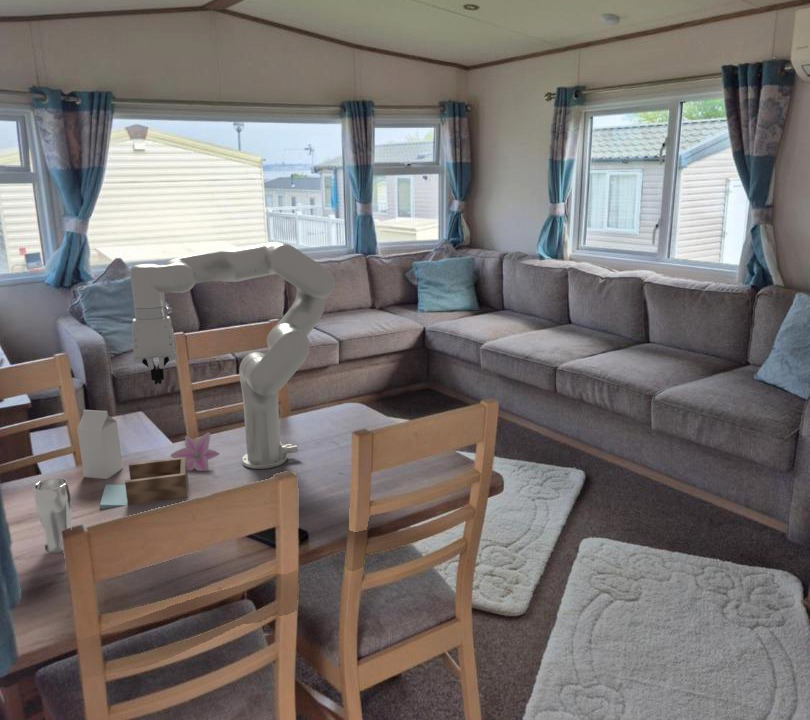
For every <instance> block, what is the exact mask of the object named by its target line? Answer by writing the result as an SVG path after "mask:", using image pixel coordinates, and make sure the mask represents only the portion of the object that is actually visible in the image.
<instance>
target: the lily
mask: <svg viewBox="0 0 810 720" xmlns="http://www.w3.org/2000/svg"><path fill="white" fill-rule="evenodd" d="M184 439H185V440H184V441H185V447H184V448H183V447H182V448H181V449H178V450H176V451H174V452H172V453H171V454H170V457H171V459H172V458H180V457H186V466H187V471H189V470H190V471H193V470H194V469H195V470H197V471H201V472H203V471H209V460H211V459H214V458H216V457H218V456H219V455H220V452H218V451H216V450H213V449H210V448H209V447H210V441H211V432H206V433H205V434H203V435H202V436H200V437H199V438H198V439H197V440H194V439H193V438H191V437H190V436H188V435H186V436H185V437H184Z"/></svg>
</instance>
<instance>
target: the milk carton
mask: <svg viewBox="0 0 810 720" xmlns="http://www.w3.org/2000/svg"><path fill="white" fill-rule="evenodd" d="M82 412H83V414H82V417H81V419H80V421H79V422H78V426H77V427H76V430H77V431H76V432H77V437H78V443H79V444H78V445H79V451H80V457H81V465H82V472H83V477H84V478H91V479H103V480H107V479H110V478H111V477H112V476H114V475H116V474H117V473H118V472H120V471H121V470H123V468H124V467H123V460H122V452H121V445H120V444H121V443H120V437H119V436H120V435H119V427H118V421H117V420H116V419H114V418H113V417H112V416H110V415H109V414H108V411H107V410H91V409H83V411H82Z"/></svg>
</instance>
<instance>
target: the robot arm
mask: <svg viewBox="0 0 810 720" xmlns="http://www.w3.org/2000/svg"><path fill="white" fill-rule="evenodd" d="M129 273H130V274H129V276H130V283H131V290H132V299H133V301H132V302H133V307H134V308H133V309H134V317H135V318H133V319H132V323H131V324H132V327H131V329H132V331H131V334H132V336H131V337H132V339H131V340H132V351H133V362H134V363H136V364H137V363H138V364H143V365H144V366H146V367H147V368H148V369H150V377H151V381H154V385H158V384H159V385H161V384H162V382H163V380H165V373H164V367H165V366H166V365H167V364H168V363H169V362H171V361H174V360H177V359H178V354H177V353H178V352H176V338H175V332H174V327H173V322H172V319H171V316H169V315H168V314H171V313H173V307H169V306H167V305H166V298H165V295H166V294H165V293H177V294H180V293H181V294H182V293H186V292H189V291H190V290H192V289H193V288H194V286H195V285H196V284H200V283H205V282H228V283H231V282H233V283H236V282H241V281H247V280H251V279H257V278H261V277H267V276H272V275H277V276H279V277H281V278H282V279H283V280H285V281H287V282H288V283H289V284H291V285H293V286H294V287H295V289H296V294H295V295H296V296H295V299H294V301H293V303H292V305H291V306H290V307H289V308H288V310H287V312H286V313H285V314H284V315H283V316H282V318H281V319H279V321H278V322H277V323H276V325H274V326H273V327H272V329H271V330H270V331H269V333H268V335H267V338H266V344H267V347H268V349H269V350H268V351H267V352H266V353H264V352H260V351H254V352H250V353H249V354H246V355H245V356H244V357H243V359H242V360H241V361H240V364H239V369H238V371H239V374H238V375H239V381H240V387H241V393H242V402H243V404H242V405H243V417H244V431H245V441H246V443H245V444H246V453H245V454H244V455H242V457H241V463H242V465H243V466H245V467H247V468H250V469H254V470H255V469H256V470H257V469H258V470H263V469H264V470H265V469H272V468H274V467H275V468H276V467H279V466H281V465H283V464H285V462H286V461H287V458H288V455H287V454H289V453H291V454H293V453H299V451H298V446H297V445H292V443H288V444H285V443H282V441H281V430H280V417H279V416H280V413H279V397H278V392H279V391H280V390H281V389H283V387H284V386H286V384H287V383H288V381H289V380H290V379H291V378H292V377H293V376H294V374H296V372H297V371H298V370H299V368H300V367H301V366H302V364H304V362H305V361H306V360H307V358H308V355H309V353H310V349H311V344H310V338H309V337H308V336H309V334H311V333H312V330H313V329H314V328H315V327H316V325H317V324H318V323H319V322H320V320H321V318H322V315H323V313H324V310H325V306H326V298H327V297H329V296H331V294H332V293H333V291H334V289H335V287H336V279H335V276H334V274H333V273H332V272H331V271H330V270H329V269H328V268H326V267H325V266H323V265H322V264H320V263H319V262H317V261H315V260H314V259H312V258H311V257H309V256H308V255H306V254H305V253H303V252H302V251H300V249H298V248H296V247H294V246H293V245H291V244H289V243H286V242H282V241H271V242H265V243H260V244H258V243H257V244H253V245H248V246H243V247H237V248H233V249H231V248H230V249H226V250H219V251H214V252H207V253H200V254H192V255H187V256H183V257H178V258H173V259H170V260H168V261H166V262H165V263H164V264H163V265H159V264H156V263H141V264H135V265H133V266H131V268H130V270H129ZM154 358H158V364H157V366H156V364H155V362H154Z"/></svg>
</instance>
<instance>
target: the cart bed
mask: <svg viewBox="0 0 810 720" xmlns="http://www.w3.org/2000/svg"><path fill="white" fill-rule="evenodd" d="M128 470H129V479H126V480H125V481H124V485H125V486H126V494H127V506H130V505H131V506H132V505H139V504H140V505H141V504H146V503H153V502H155V503H156V502H163V501H169V500H175V499H177V500H178V499H184V498H188V497H189V496H188V494H189V491H188V488H189V487H188V486H189V484H188V483H189V479H188V478H189V477H188V470H187V466H186V457H180V458H172V457H171V458H166V459H165V458H163V459H156V460H149V461H139V462H132V463H131V462H129V463H128Z"/></svg>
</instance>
